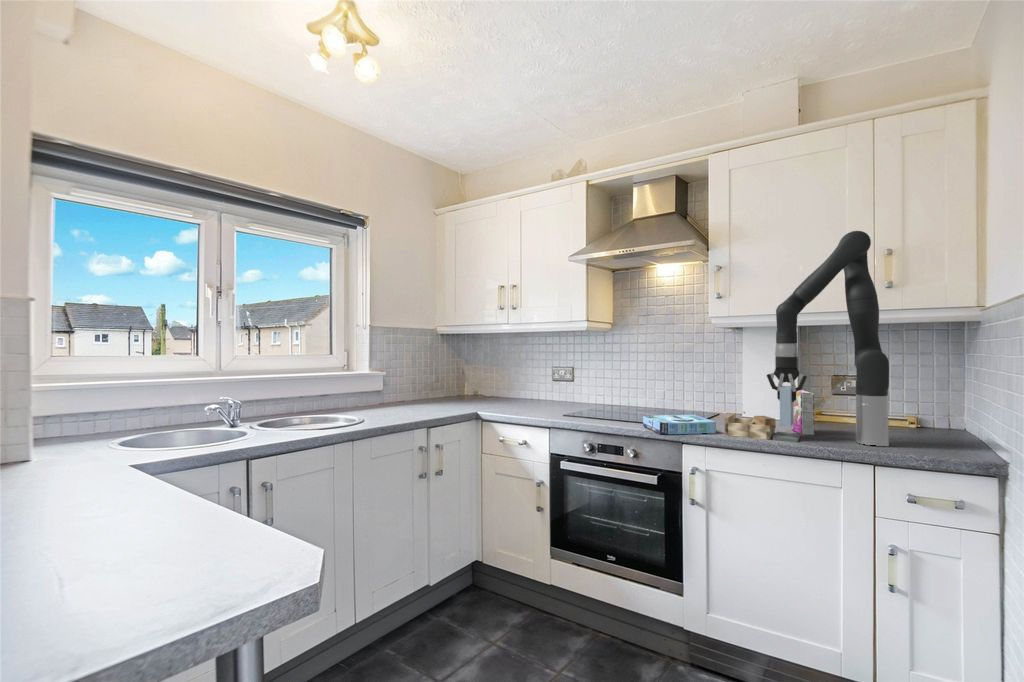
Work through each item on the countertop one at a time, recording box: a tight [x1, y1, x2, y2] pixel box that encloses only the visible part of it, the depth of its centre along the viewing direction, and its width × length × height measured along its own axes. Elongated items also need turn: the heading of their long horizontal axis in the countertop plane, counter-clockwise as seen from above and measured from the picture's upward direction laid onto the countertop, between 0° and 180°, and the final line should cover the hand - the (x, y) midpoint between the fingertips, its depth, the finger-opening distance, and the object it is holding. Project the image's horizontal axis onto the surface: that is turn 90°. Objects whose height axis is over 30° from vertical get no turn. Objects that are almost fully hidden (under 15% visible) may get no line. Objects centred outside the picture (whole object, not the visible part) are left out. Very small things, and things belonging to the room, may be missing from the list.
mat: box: [772, 431, 802, 443], centre depth 189 cm, size 8×14×1 cm, turn 146°
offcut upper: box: [753, 415, 777, 429], centre depth 192 cm, size 4×8×4 cm, turn 2°
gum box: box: [642, 414, 717, 435], centre depth 207 cm, size 20×5×23 cm
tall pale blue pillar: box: [779, 385, 794, 428], centre depth 189 cm, size 4×11×14 cm, turn 146°
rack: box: [724, 412, 776, 441], centre depth 196 cm, size 16×15×7 cm
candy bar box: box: [791, 389, 815, 436], centre depth 199 cm, size 11×5×16 cm, turn 168°
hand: (786, 401), depth 189 cm, fingers closed on tall pale blue pillar, 3 cm apart
